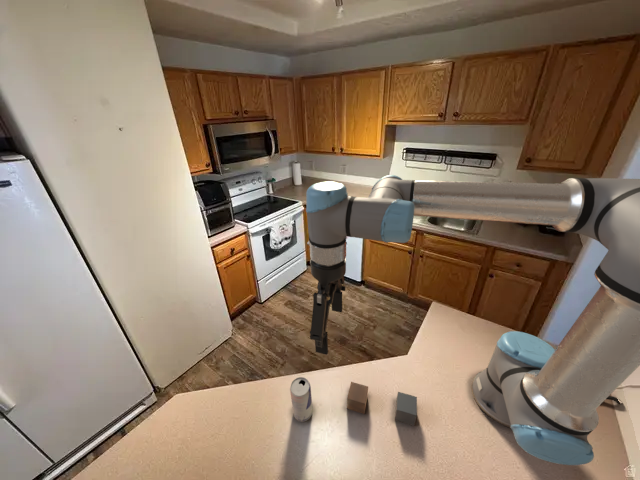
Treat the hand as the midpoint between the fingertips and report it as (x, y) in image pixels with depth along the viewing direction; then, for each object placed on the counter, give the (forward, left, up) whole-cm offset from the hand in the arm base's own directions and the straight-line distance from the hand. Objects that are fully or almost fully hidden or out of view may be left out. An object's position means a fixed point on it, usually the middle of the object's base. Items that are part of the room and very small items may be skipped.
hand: (330, 329), depth 64 cm
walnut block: (-8, 0, -27) cm, 28 cm away
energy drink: (+6, +7, -27) cm, 28 cm away
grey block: (-21, -1, -27) cm, 34 cm away
